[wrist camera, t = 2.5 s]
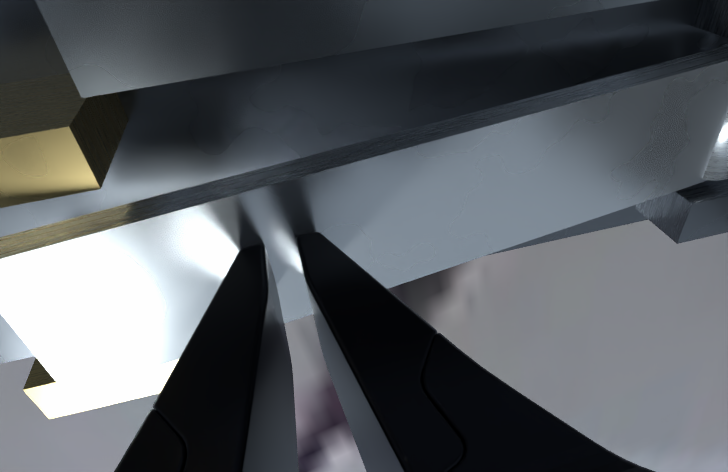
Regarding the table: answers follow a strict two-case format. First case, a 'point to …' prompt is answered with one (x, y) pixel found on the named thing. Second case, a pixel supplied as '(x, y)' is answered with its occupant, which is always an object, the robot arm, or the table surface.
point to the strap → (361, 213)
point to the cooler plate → (290, 100)
